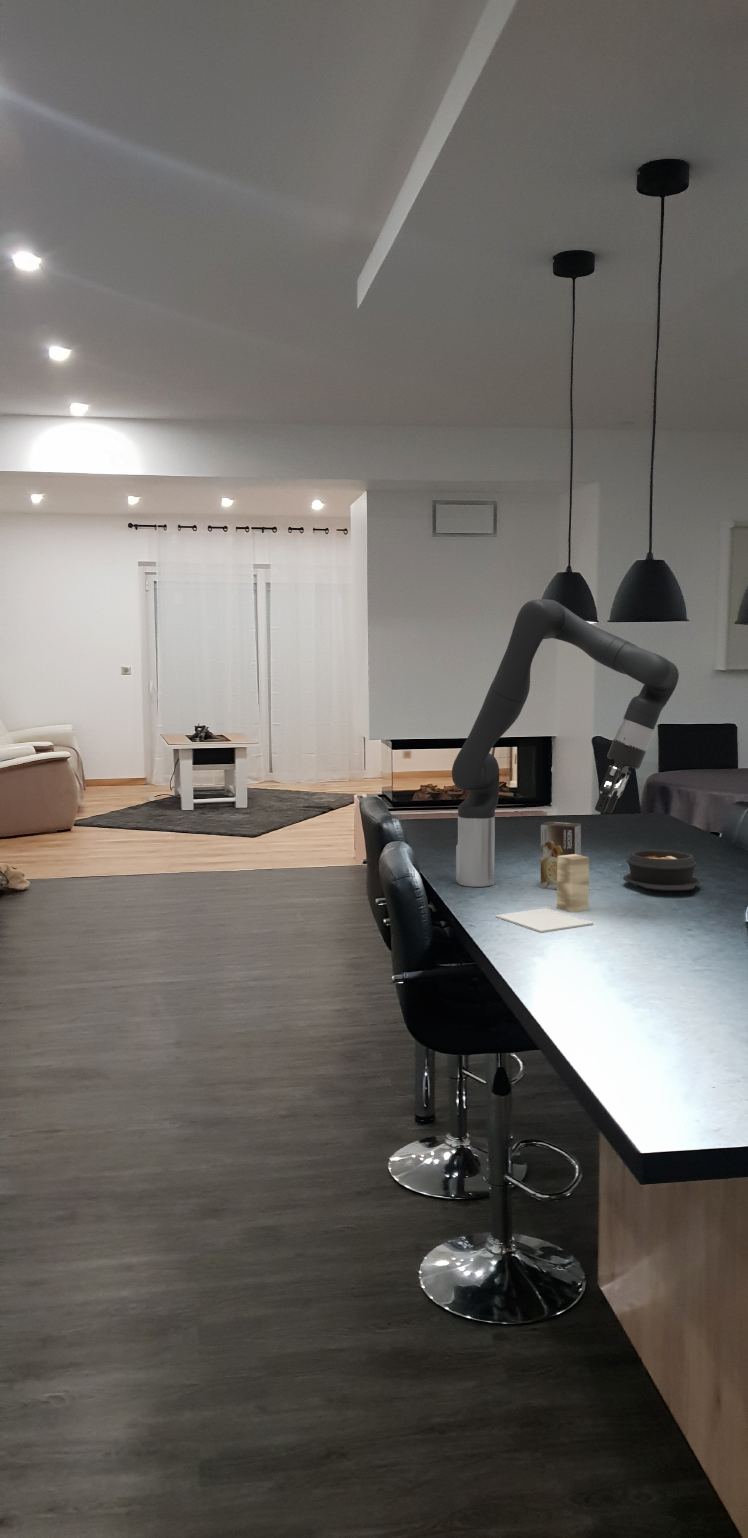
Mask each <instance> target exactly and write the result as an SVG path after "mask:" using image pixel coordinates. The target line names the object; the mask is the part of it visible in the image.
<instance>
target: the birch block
mask: <svg viewBox="0 0 748 1538" xmlns="http://www.w3.org/2000/svg"><path fill="white" fill-rule="evenodd" d="M589 888H590V857H589V856H586V855H585V856H584V855H582V856H581V855H577V854H571V855H562V856H558V858H557V889H556V908H557V909H559V910H562V911H565V912H569V913H575V912H585V911H588V910H589V897H590V895H589V894H590V893H589V892H590V891H589V890H590V889H589Z"/></svg>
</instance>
